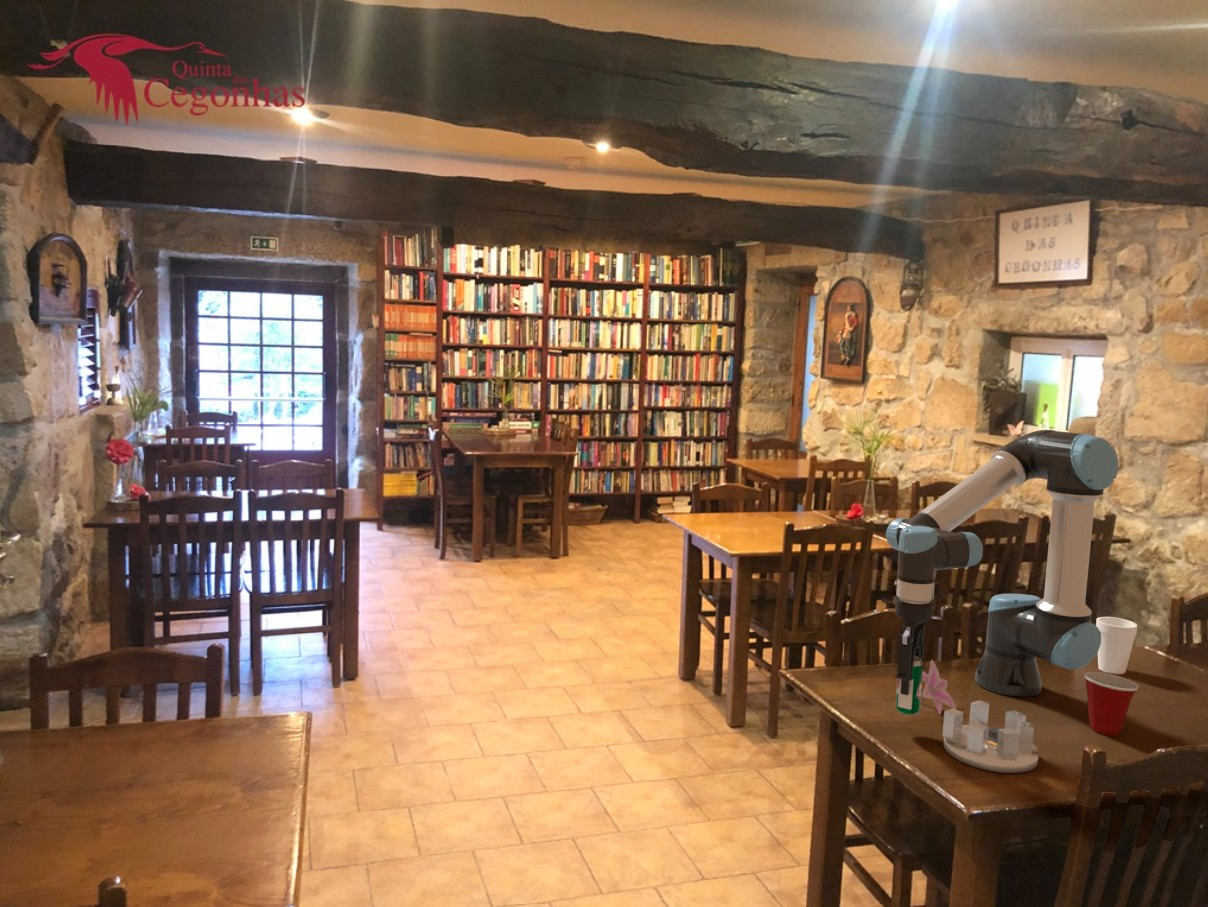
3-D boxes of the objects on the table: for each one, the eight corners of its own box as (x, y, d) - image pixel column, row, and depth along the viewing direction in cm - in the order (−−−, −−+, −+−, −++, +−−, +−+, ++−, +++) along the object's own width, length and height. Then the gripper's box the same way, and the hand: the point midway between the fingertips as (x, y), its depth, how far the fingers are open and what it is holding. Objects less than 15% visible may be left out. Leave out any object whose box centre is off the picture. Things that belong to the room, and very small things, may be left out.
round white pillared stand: (977, 727, 201) (980, 694, 200) (1055, 759, 186) (1059, 724, 185) (925, 744, 191) (928, 710, 190) (1003, 781, 176) (1007, 744, 175)
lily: (911, 720, 207) (936, 690, 203) (889, 682, 217) (911, 653, 213) (951, 730, 211) (975, 701, 208) (927, 693, 221) (950, 664, 218)
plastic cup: (1145, 738, 199) (1151, 685, 197) (1105, 743, 196) (1111, 689, 194) (1105, 718, 209) (1110, 668, 208) (1067, 722, 206) (1072, 671, 205)
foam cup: (1139, 676, 237) (1144, 628, 235) (1103, 675, 237) (1108, 627, 235) (1119, 663, 246) (1124, 617, 245) (1085, 662, 246) (1089, 616, 245)
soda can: (921, 716, 195) (924, 662, 193) (896, 714, 196) (899, 660, 194) (918, 707, 200) (921, 654, 198) (894, 705, 200) (897, 652, 199)
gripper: (907, 586, 204) (901, 686, 207) (885, 606, 189) (878, 713, 192) (942, 592, 200) (935, 693, 203) (922, 612, 185) (915, 721, 188)
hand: (908, 702), depth 197 cm, fingers closed on soda can, 5 cm apart
